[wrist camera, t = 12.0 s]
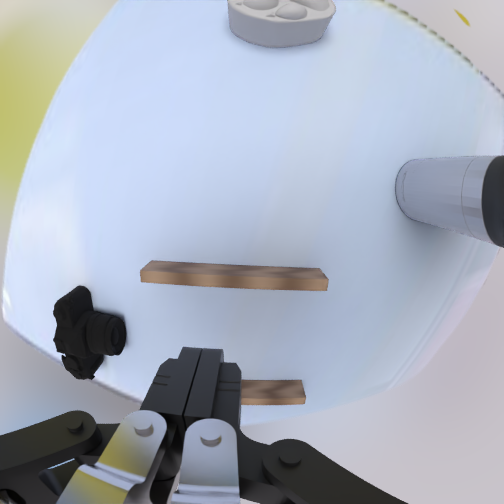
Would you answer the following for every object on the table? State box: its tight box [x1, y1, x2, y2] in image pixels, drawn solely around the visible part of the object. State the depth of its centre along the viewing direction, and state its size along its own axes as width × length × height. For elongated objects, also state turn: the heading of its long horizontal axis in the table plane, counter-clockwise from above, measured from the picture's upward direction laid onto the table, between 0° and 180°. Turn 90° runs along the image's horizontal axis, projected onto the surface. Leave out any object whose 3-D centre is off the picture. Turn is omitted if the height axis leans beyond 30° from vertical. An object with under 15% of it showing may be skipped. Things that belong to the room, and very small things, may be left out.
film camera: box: [53, 286, 126, 380], centre depth 34 cm, size 15×10×9 cm, turn 176°
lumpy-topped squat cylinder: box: [227, 0, 336, 48], centre depth 24 cm, size 10×13×9 cm
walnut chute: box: [140, 261, 329, 405], centre depth 37 cm, size 23×21×4 cm
